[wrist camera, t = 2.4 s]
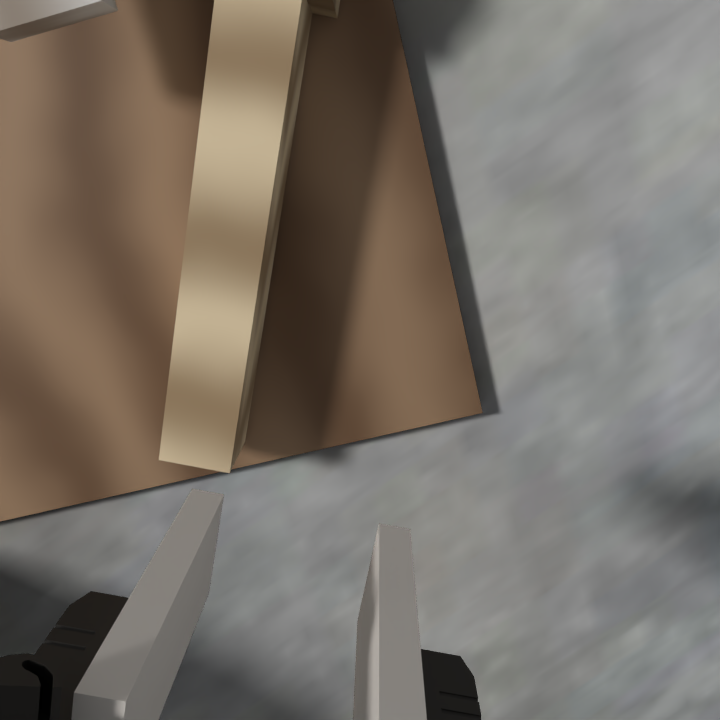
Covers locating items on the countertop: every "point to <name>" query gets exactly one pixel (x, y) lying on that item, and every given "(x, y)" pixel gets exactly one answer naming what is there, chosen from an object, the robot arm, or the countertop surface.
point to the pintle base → (167, 240)
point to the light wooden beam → (233, 223)
